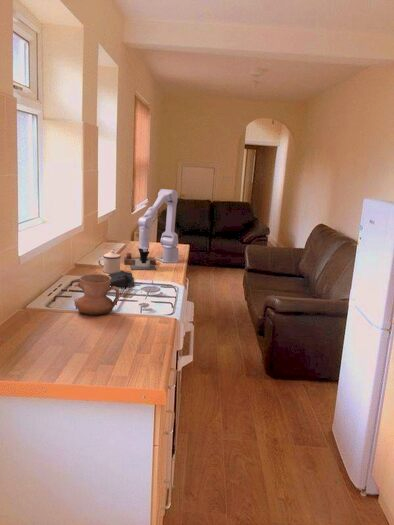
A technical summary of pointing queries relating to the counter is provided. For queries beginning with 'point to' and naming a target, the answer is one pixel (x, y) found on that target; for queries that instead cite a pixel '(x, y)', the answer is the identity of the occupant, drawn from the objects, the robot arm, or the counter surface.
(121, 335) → the counter surface
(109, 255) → the teacup with lid
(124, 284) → the dark slate chunk
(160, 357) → the counter surface
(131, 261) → the body
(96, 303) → the ceramic jug
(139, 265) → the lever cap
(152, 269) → the rubber mat
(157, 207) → the robot arm
